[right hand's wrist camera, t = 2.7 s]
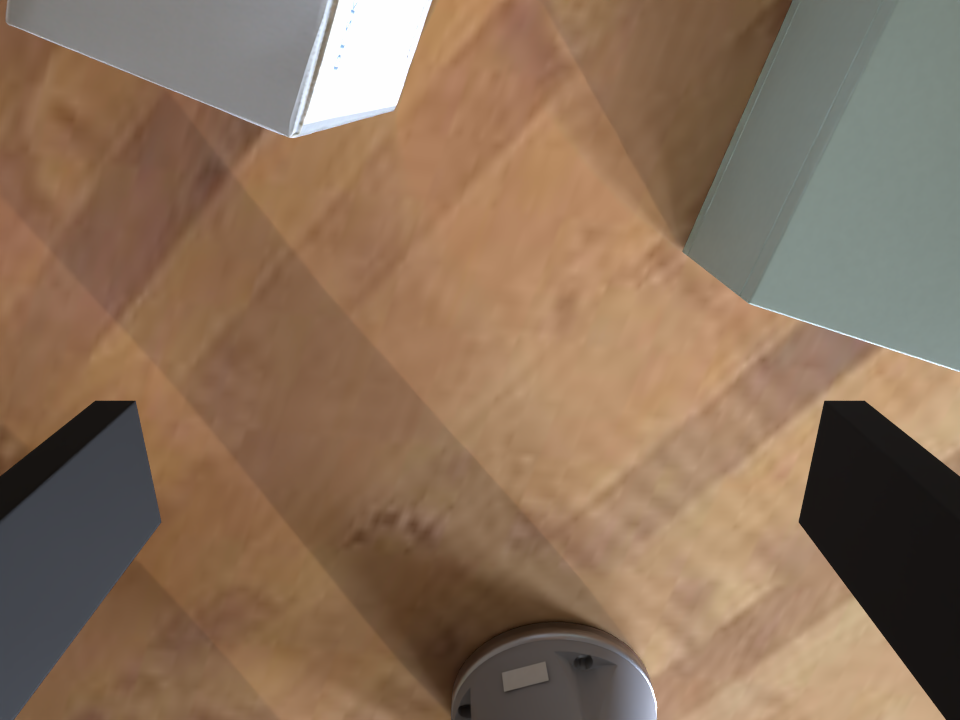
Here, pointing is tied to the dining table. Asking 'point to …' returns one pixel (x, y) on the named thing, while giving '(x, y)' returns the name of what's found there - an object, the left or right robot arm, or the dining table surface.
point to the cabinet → (849, 177)
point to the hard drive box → (248, 51)
